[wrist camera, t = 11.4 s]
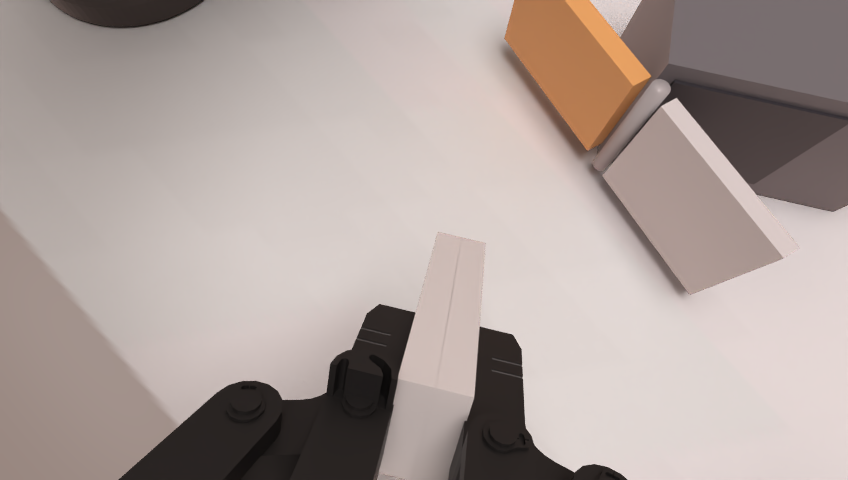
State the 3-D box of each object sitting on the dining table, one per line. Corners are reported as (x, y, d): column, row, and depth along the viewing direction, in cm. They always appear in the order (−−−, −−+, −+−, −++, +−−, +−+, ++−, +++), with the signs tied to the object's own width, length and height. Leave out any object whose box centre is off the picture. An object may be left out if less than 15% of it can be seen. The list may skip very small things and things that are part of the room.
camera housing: (596, 160, 34) (674, 58, 24) (612, 51, 37) (688, -81, 27) (865, 221, 34) (1061, 142, 23) (860, 105, 36) (1034, -10, 26)
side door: (502, 45, 36) (529, -58, 28) (516, 38, 36) (547, -66, 28) (686, 296, 31) (785, 258, 23) (702, 286, 31) (805, 245, 23)
